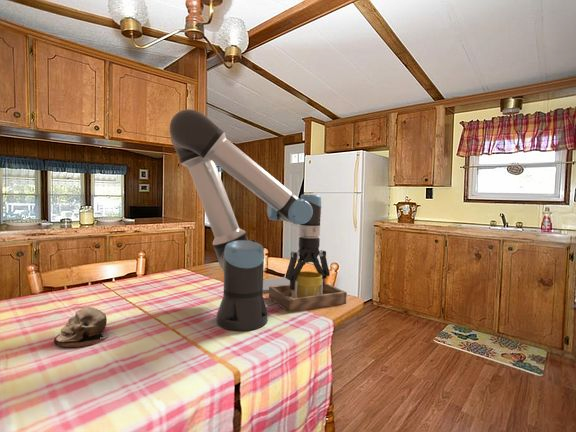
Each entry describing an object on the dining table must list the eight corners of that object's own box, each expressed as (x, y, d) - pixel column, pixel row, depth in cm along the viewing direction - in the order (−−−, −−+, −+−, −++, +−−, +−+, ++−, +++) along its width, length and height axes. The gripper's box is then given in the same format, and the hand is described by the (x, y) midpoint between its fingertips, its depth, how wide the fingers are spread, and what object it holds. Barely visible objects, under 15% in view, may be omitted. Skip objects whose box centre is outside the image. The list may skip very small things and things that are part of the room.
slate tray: (262, 293, 121) (262, 290, 121) (249, 283, 134) (249, 280, 134) (302, 288, 129) (302, 285, 129) (286, 279, 142) (286, 276, 142)
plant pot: (321, 296, 119) (322, 271, 119) (321, 306, 109) (322, 278, 108) (294, 295, 120) (295, 270, 120) (291, 304, 110) (292, 276, 109)
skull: (55, 351, 70) (52, 309, 75) (55, 366, 76) (52, 326, 81) (115, 336, 77) (109, 299, 82) (110, 351, 84) (104, 315, 89)
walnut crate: (289, 312, 102) (289, 300, 102) (268, 297, 116) (269, 286, 116) (346, 303, 113) (346, 292, 112) (321, 290, 127) (321, 280, 127)
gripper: (286, 239, 105) (284, 303, 106) (341, 237, 115) (338, 296, 116) (276, 236, 111) (274, 297, 112) (329, 234, 122) (326, 290, 123)
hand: (307, 296), depth 114 cm, fingers closed on plant pot, 10 cm apart
